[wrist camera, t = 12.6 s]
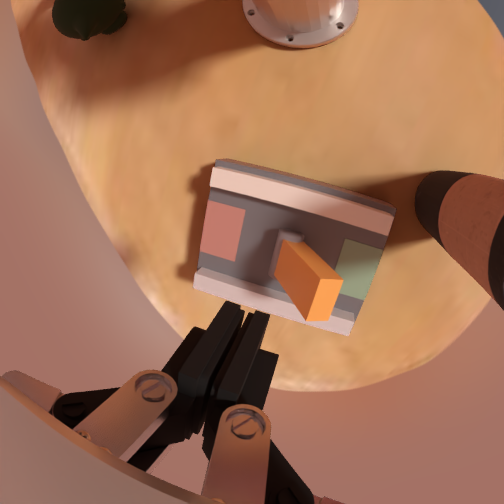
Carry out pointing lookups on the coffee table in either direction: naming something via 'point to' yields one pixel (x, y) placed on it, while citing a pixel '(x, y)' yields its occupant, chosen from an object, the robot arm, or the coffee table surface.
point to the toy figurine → (88, 17)
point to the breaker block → (295, 218)
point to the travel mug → (467, 223)
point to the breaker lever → (304, 276)
